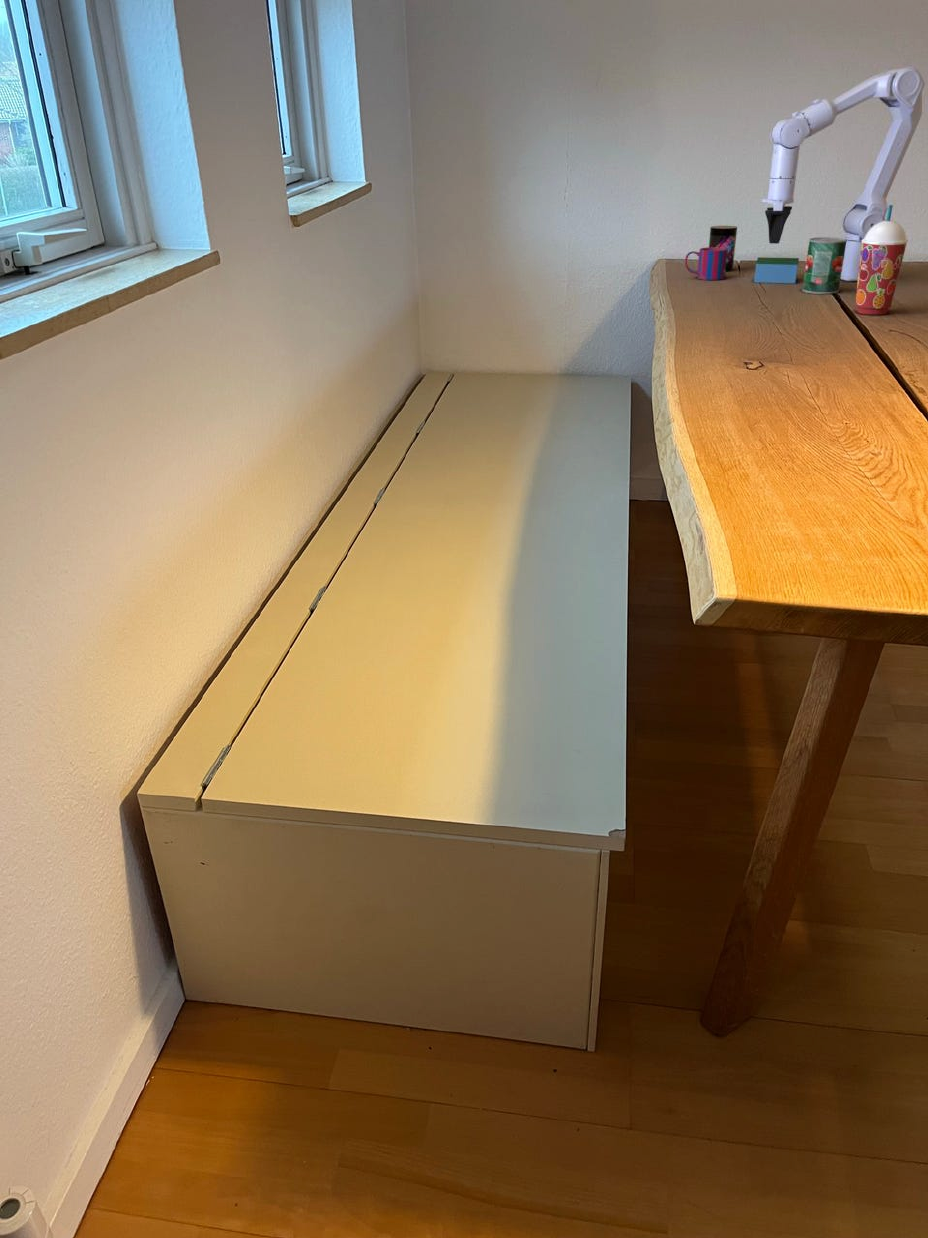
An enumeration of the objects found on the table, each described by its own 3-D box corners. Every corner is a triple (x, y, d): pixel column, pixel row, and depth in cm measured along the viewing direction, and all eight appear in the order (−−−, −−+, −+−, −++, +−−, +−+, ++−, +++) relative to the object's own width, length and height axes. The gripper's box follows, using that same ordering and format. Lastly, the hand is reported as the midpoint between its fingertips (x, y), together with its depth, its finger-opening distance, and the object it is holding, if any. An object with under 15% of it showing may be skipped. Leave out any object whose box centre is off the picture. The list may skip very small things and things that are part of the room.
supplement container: (701, 270, 242) (705, 227, 237) (713, 267, 247) (717, 224, 242) (725, 272, 238) (730, 228, 233) (737, 269, 243) (742, 226, 238)
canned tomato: (843, 293, 208) (852, 240, 203) (808, 294, 208) (815, 241, 203) (831, 287, 215) (839, 236, 210) (797, 288, 215) (804, 237, 210)
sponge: (796, 279, 226) (799, 257, 223) (795, 283, 221) (798, 261, 219) (755, 278, 229) (758, 257, 226) (754, 282, 224) (756, 260, 222)
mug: (725, 280, 228) (728, 250, 224) (683, 279, 230) (685, 250, 226) (724, 275, 233) (727, 247, 230) (683, 275, 235) (686, 246, 232)
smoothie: (895, 309, 190) (915, 203, 181) (892, 317, 184) (913, 207, 174) (851, 307, 193) (869, 202, 184) (848, 314, 187) (866, 206, 177)
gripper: (766, 175, 220) (759, 237, 227) (762, 180, 208) (755, 244, 215) (797, 175, 218) (789, 237, 225) (795, 179, 206) (787, 245, 213)
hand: (774, 241), depth 220 cm, fingers open, 7 cm apart
